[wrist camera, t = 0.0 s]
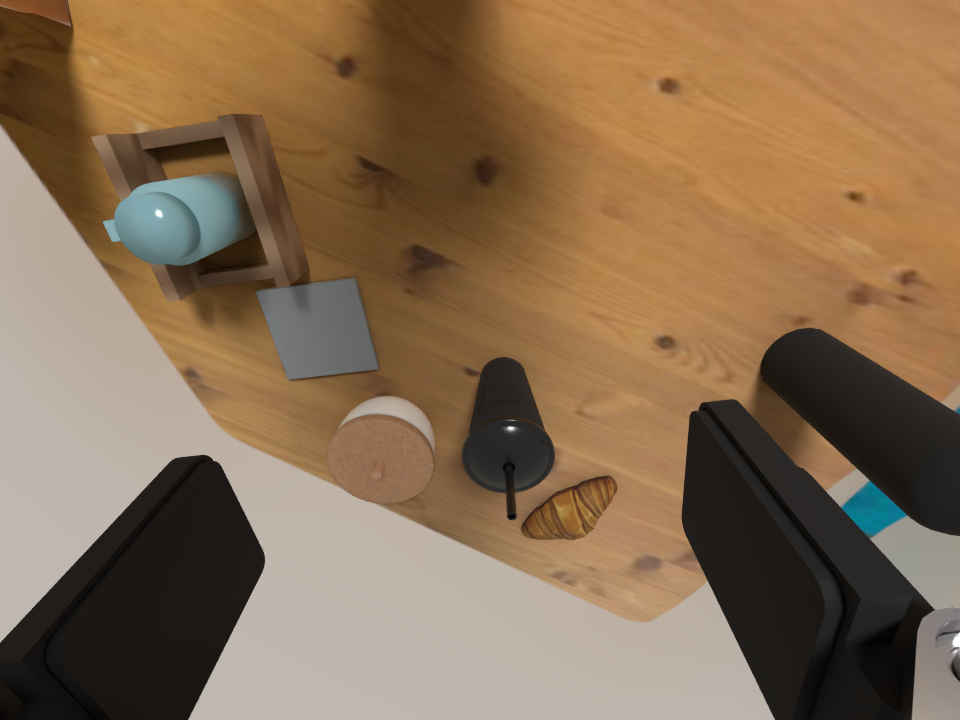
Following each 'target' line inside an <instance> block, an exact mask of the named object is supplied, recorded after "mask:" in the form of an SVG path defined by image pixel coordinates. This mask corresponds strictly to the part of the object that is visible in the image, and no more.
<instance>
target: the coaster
mask: <svg viewBox="0 0 960 720" xmlns="http://www.w3.org/2000/svg"><path fill="white" fill-rule="evenodd" d="M256 294H257V297H258V300H259V302H260V305H261V308H262V310H263V313H264V316H265V319H266V321H267V324H268V327H269V329H270V332H271V335H272V337H273V340H274V343H275V346H276V348H277V351H278V354H279V356H280V359H281V362H282V364H283V367H284V370H285V372H286V375H287V378H288V380H290V379H298V378H307V377H316V376H324V375H333V374H342V373H350V372H359V371H368V370H376V369H379V367H380V366H379V362H378V358H377V355H376V351H375V347H374V343H373V339H372V336H371V332H370V328H369V324H368V321H367V317H366V313H365V309H364V305H363V302H362V298H361V294H360V290H359V287H358V283H357V279H356V277H351V278H344V279H336V280H328V281H321V282H313V283H305V284H298V285H290V286H283V287H275V288H267V289H260V290H257V291H256Z"/></svg>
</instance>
